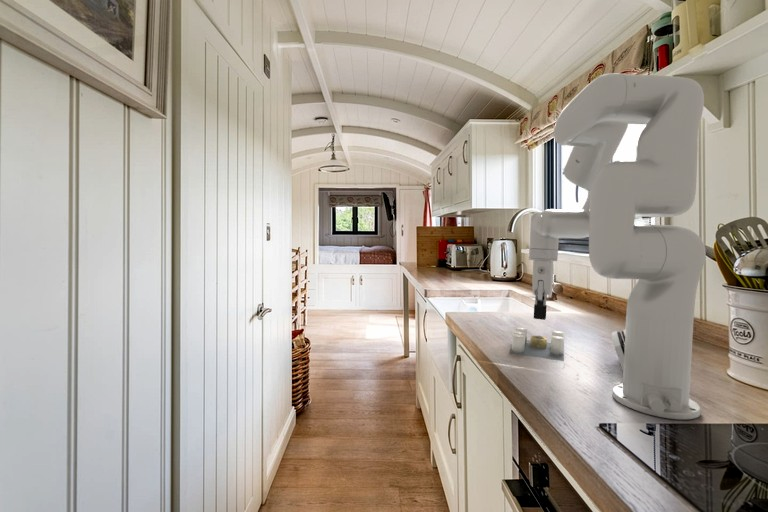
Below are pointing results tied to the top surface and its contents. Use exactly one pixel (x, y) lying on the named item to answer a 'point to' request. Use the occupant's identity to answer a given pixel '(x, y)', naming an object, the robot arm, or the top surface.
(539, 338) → the nut
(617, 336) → the hinge
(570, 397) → the top surface
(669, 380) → the robot arm
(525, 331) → the spacers
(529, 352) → the mat
